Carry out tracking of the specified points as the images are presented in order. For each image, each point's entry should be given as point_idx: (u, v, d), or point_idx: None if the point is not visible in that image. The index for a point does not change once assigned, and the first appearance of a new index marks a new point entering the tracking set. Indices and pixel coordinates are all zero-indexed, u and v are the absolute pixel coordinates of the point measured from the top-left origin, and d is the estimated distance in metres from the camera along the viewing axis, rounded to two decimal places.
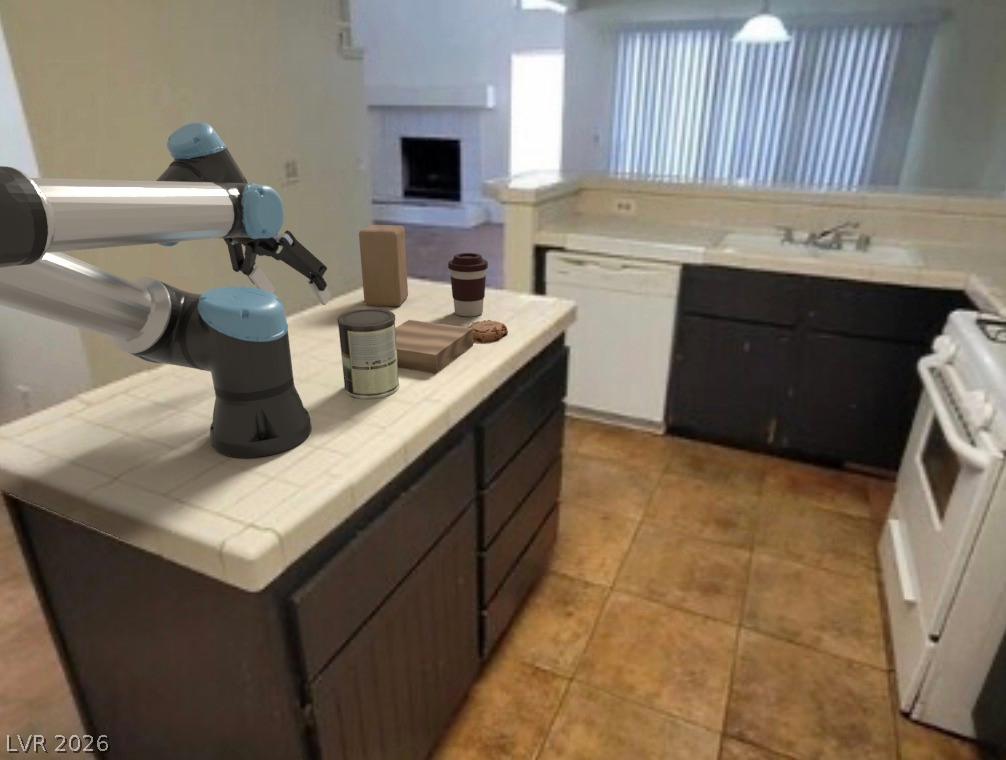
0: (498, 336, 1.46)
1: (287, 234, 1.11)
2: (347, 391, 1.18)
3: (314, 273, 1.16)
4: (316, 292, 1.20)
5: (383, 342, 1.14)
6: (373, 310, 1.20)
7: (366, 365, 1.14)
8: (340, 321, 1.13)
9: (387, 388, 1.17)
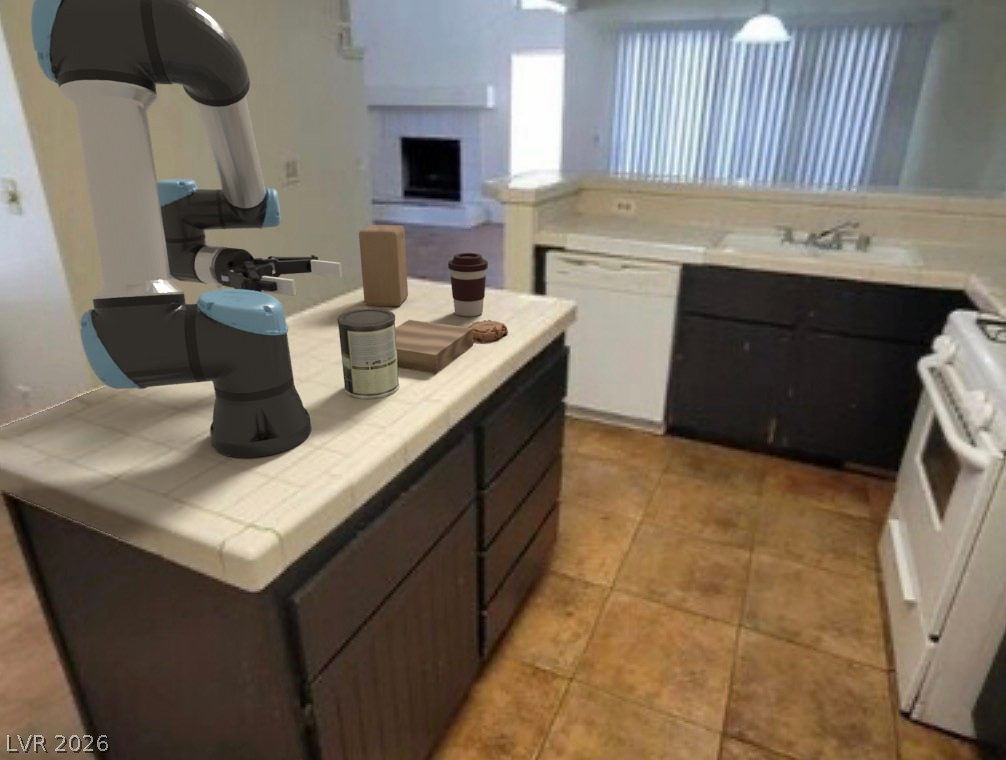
0: (498, 336, 1.46)
1: None
2: (347, 391, 1.18)
3: (309, 257, 1.27)
4: (324, 261, 1.23)
5: (383, 342, 1.14)
6: (373, 310, 1.20)
7: (366, 365, 1.14)
8: (340, 321, 1.13)
9: (387, 388, 1.17)
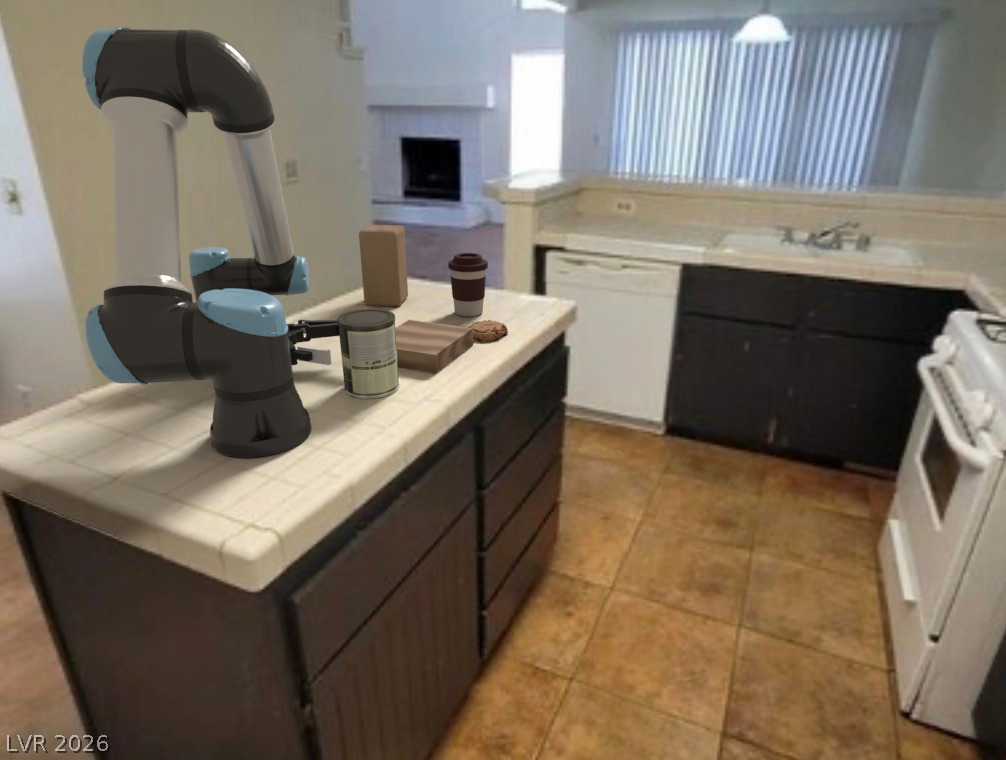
0: (498, 336, 1.46)
1: None
2: (347, 391, 1.18)
3: None
4: None
5: (383, 342, 1.14)
6: (373, 310, 1.20)
7: (366, 365, 1.14)
8: (340, 321, 1.13)
9: (387, 388, 1.17)
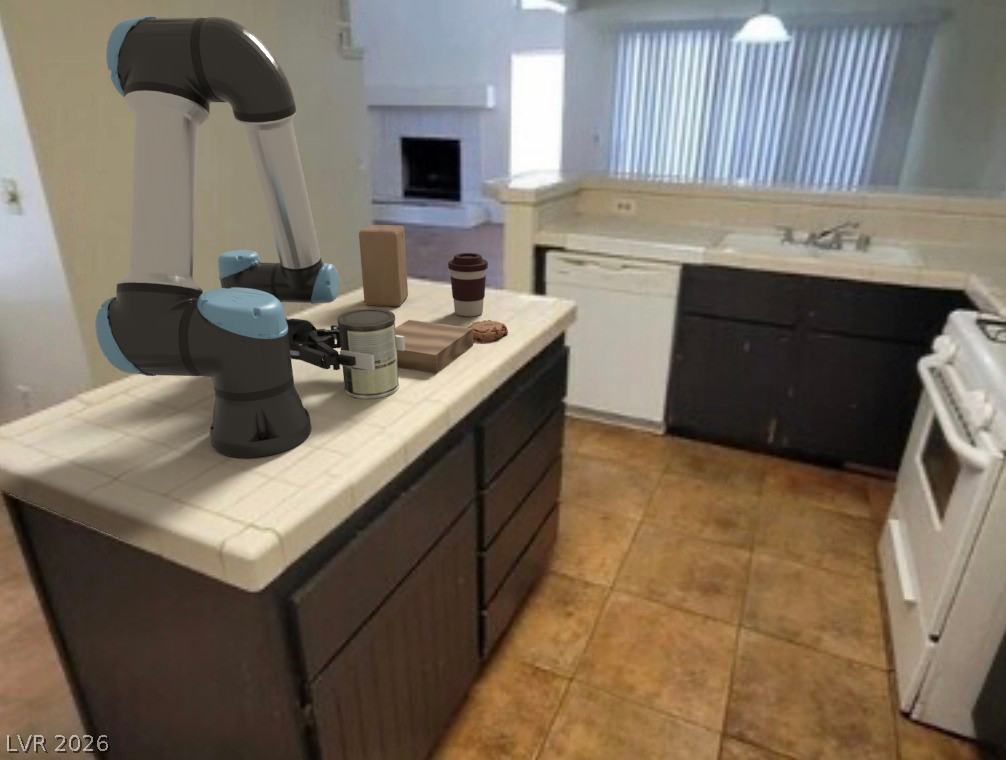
0: (498, 336, 1.46)
1: None
2: (347, 391, 1.18)
3: None
4: None
5: (383, 342, 1.14)
6: (373, 310, 1.20)
7: None
8: (340, 321, 1.13)
9: (386, 388, 1.17)
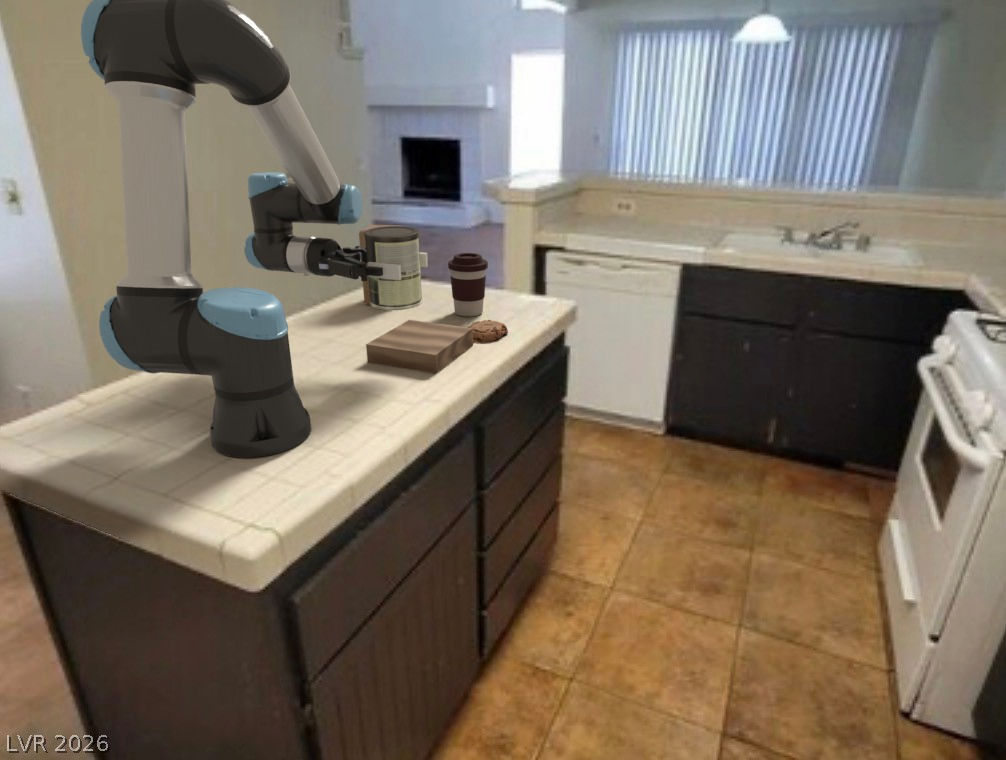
0: (498, 336, 1.46)
1: None
2: (373, 304, 1.24)
3: None
4: None
5: (409, 254, 1.19)
6: (397, 227, 1.25)
7: None
8: (367, 234, 1.19)
9: (411, 301, 1.23)
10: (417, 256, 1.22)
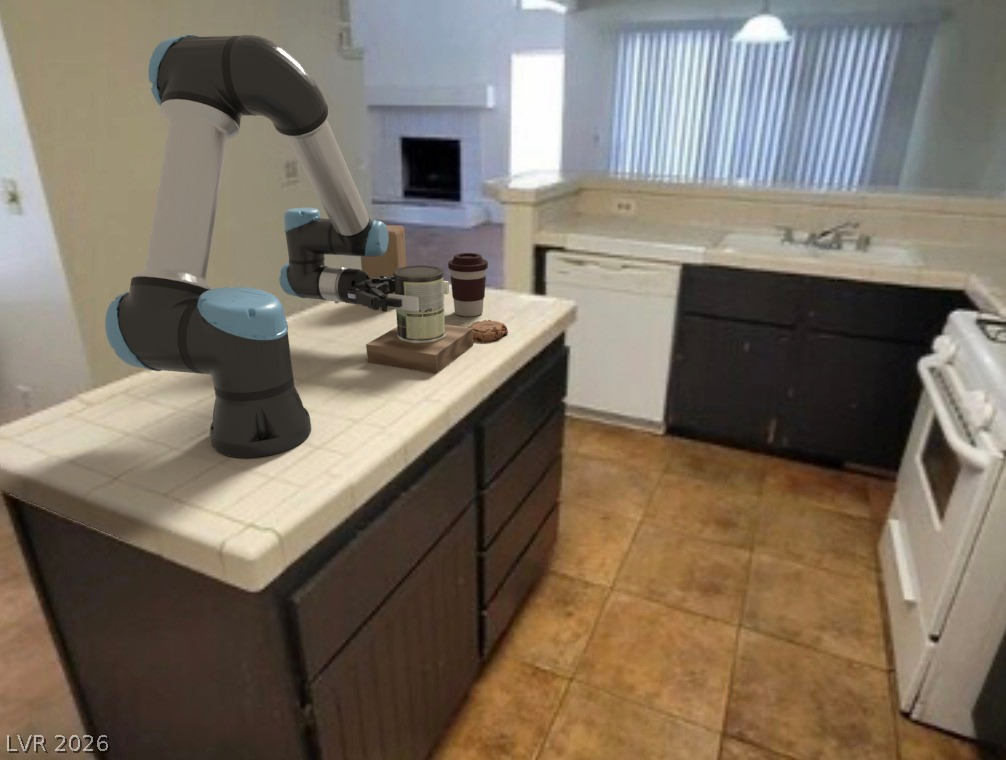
0: (498, 336, 1.46)
1: None
2: (401, 337, 1.34)
3: None
4: None
5: (435, 292, 1.29)
6: (423, 266, 1.35)
7: (419, 313, 1.30)
8: (396, 274, 1.29)
9: (436, 335, 1.33)
10: (442, 294, 1.32)
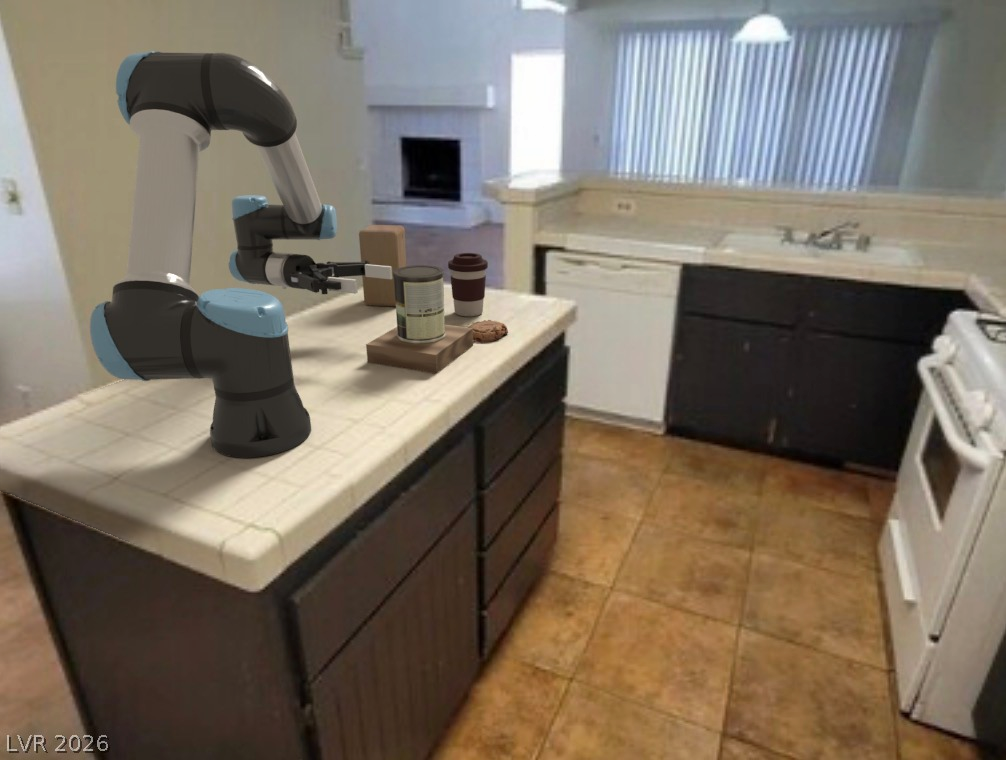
0: (498, 336, 1.46)
1: None
2: (401, 337, 1.34)
3: (363, 262, 1.46)
4: (377, 265, 1.43)
5: (434, 292, 1.29)
6: (422, 266, 1.35)
7: (419, 313, 1.30)
8: (396, 274, 1.29)
9: (436, 335, 1.33)
10: (442, 294, 1.32)
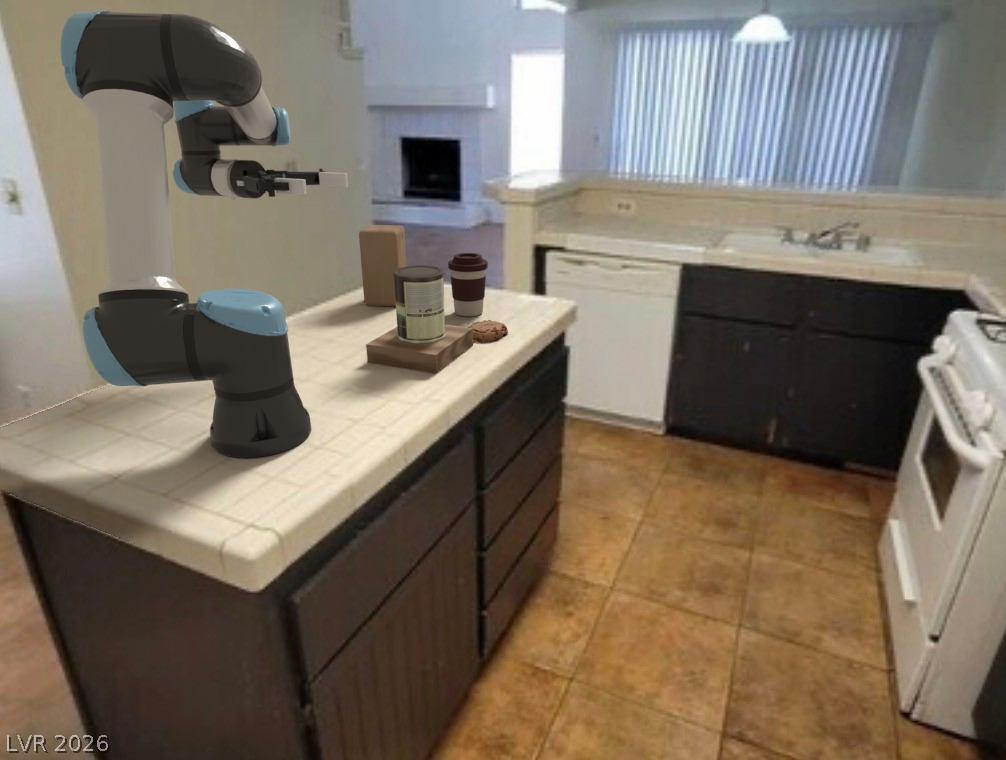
0: (498, 336, 1.46)
1: None
2: (401, 337, 1.34)
3: None
4: None
5: (435, 292, 1.29)
6: (423, 266, 1.35)
7: (419, 313, 1.30)
8: (397, 274, 1.29)
9: (436, 335, 1.33)
10: (442, 294, 1.32)
